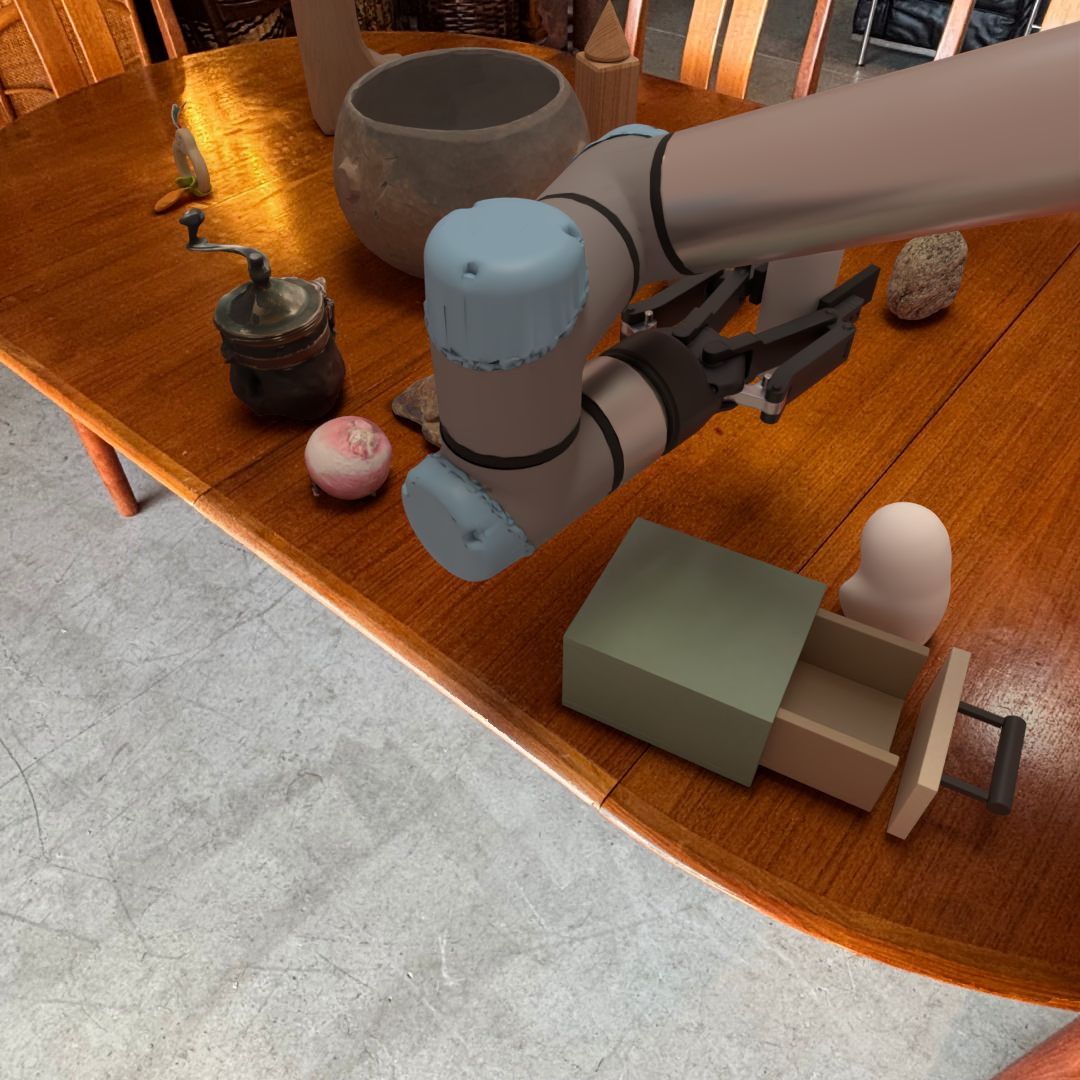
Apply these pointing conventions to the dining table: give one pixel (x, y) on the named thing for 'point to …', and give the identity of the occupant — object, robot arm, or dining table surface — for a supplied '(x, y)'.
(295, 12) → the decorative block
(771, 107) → the robot arm
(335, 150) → the clay pot
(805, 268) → the beverage can
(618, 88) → the decorative item
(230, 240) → the dining table surface
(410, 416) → the brown rock
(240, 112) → the dining table surface
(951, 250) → the stone
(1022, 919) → the dining table surface
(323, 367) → the coffee grinder
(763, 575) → the cabinet
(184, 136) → the rattle
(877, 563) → the figurine
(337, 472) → the onion
